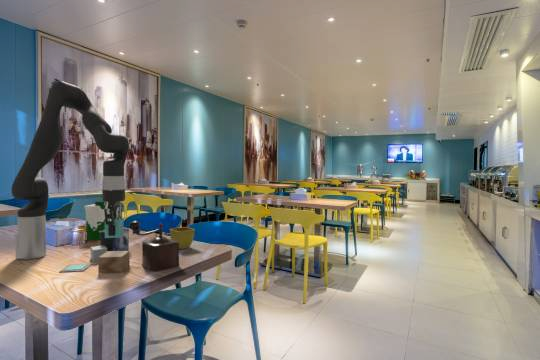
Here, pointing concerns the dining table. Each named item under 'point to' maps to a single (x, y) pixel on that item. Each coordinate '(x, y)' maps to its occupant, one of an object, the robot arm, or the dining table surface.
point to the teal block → (118, 229)
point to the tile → (75, 268)
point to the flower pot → (182, 236)
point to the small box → (116, 242)
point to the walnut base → (113, 262)
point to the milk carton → (95, 220)
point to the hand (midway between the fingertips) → (114, 233)
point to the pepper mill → (157, 250)
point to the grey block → (97, 252)
